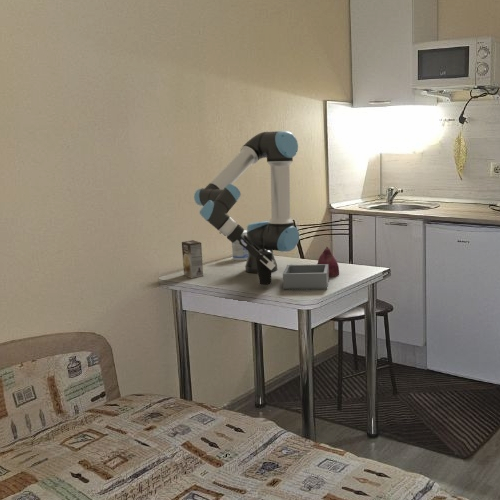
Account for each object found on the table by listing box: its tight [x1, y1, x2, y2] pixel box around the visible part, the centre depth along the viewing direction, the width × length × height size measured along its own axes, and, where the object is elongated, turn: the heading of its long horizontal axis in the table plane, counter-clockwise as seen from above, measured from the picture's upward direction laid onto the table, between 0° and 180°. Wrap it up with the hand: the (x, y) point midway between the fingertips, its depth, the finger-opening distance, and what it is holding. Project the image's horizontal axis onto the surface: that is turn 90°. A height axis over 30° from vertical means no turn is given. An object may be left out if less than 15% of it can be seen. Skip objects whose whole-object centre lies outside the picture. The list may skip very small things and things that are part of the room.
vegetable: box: [316, 246, 340, 278], centre depth 311 cm, size 10×10×15 cm
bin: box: [282, 263, 330, 291], centre depth 296 cm, size 18×18×7 cm
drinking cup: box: [256, 237, 274, 286], centre depth 293 cm, size 8×8×20 cm
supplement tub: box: [231, 229, 248, 262], centre depth 359 cm, size 10×10×15 cm
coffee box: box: [181, 239, 204, 279], centre depth 326 cm, size 9×6×16 cm
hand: (272, 265), depth 294 cm, fingers closed on drinking cup, 7 cm apart
